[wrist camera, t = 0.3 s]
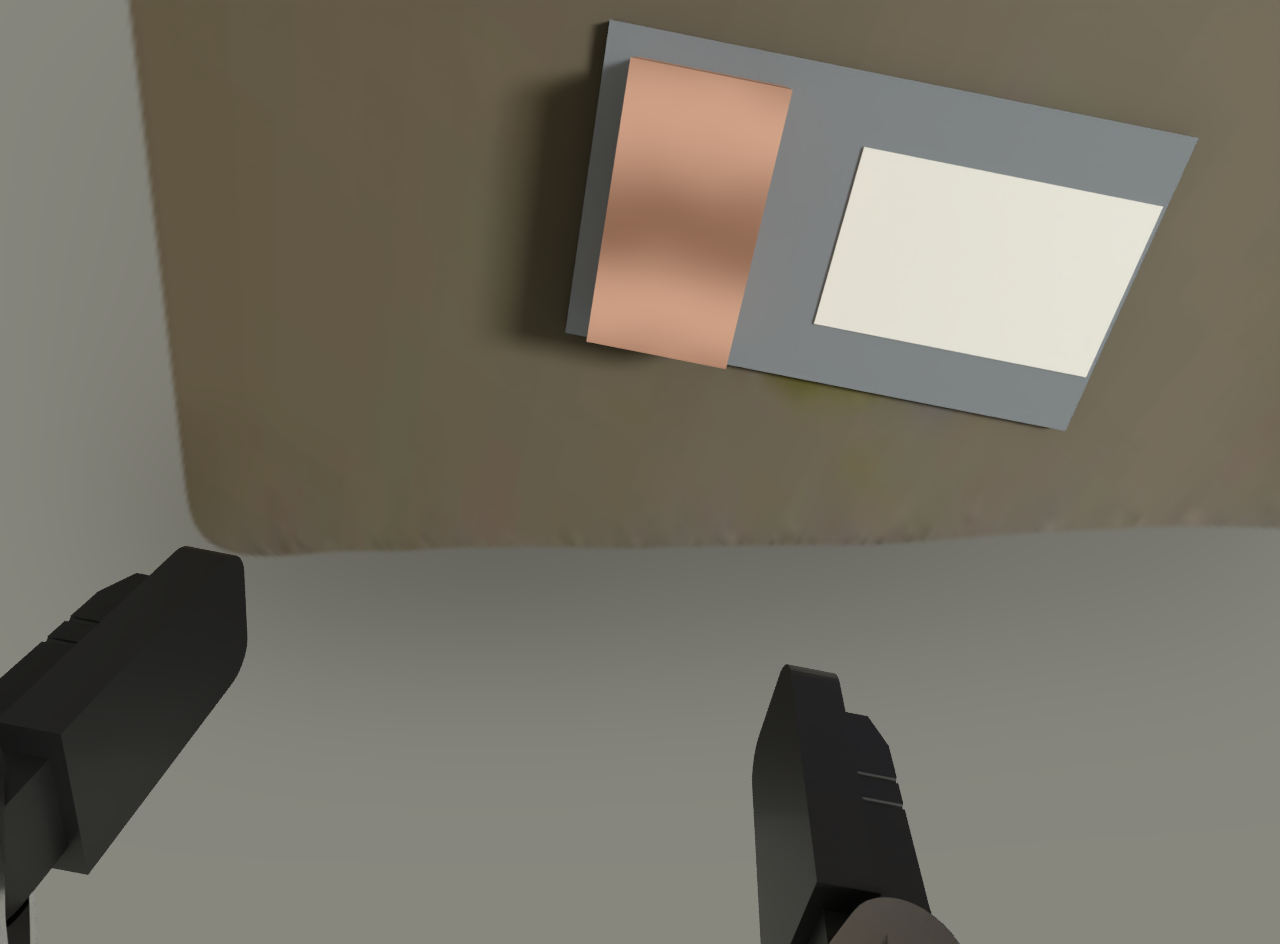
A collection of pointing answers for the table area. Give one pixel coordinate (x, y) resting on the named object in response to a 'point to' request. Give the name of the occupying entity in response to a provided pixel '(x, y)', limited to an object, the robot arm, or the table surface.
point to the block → (684, 209)
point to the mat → (919, 232)
